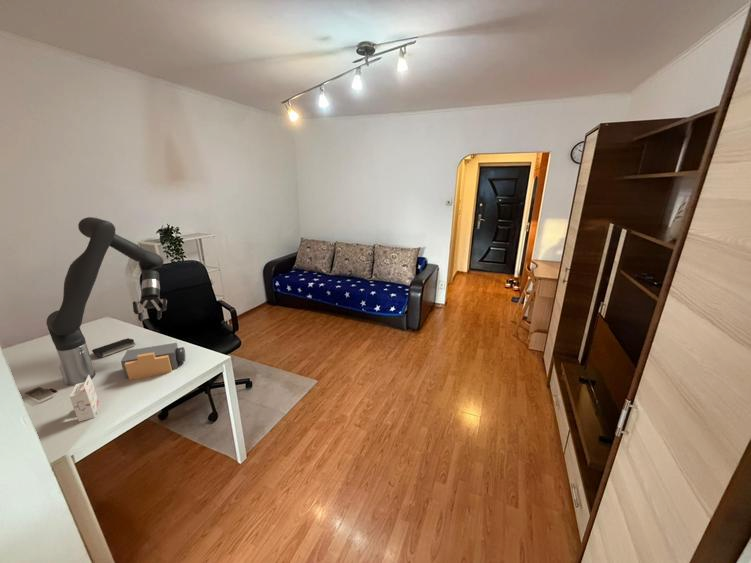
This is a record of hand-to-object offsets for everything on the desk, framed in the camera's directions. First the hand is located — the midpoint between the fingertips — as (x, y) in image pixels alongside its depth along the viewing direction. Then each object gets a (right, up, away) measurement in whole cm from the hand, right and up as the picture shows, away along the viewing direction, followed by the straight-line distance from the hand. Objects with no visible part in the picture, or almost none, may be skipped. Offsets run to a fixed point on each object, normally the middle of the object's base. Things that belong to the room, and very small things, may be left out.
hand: (150, 319), depth 144 cm
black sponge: (-29, -19, +13) cm, 37 cm away
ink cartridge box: (-2, -33, -29) cm, 44 cm away
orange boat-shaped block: (+6, -25, -7) cm, 27 cm away
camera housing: (+5, -24, -1) cm, 24 cm away
